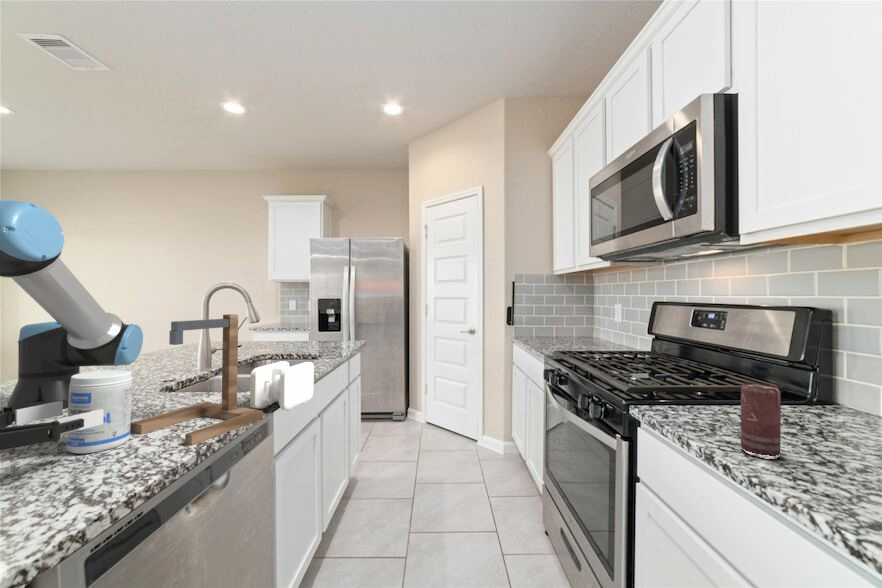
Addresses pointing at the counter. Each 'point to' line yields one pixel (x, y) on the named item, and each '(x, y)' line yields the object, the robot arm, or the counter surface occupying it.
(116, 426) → the supplement tub
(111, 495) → the counter surface
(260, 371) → the cable organizer
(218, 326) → the hook arm
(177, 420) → the wooden hook stand
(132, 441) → the counter surface
